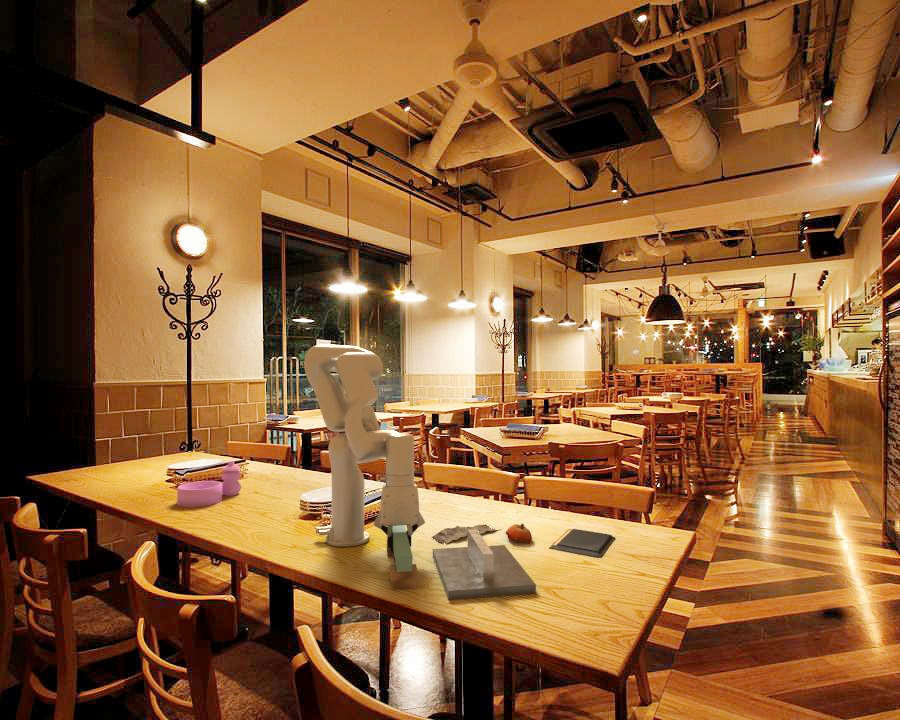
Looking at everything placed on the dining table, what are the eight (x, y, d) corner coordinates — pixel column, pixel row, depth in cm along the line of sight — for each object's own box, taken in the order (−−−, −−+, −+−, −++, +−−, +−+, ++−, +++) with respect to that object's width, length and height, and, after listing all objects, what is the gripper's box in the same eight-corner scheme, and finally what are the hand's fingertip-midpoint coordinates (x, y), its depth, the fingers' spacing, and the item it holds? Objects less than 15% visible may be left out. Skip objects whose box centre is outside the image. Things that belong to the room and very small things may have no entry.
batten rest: (391, 590, 114) (391, 572, 114) (386, 549, 139) (386, 535, 140) (417, 588, 115) (417, 570, 115) (408, 548, 140) (408, 534, 140)
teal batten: (397, 572, 114) (397, 556, 114) (391, 535, 140) (391, 522, 140) (412, 571, 115) (412, 555, 115) (403, 534, 140) (403, 522, 140)
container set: (194, 509, 180) (194, 472, 180) (168, 504, 187) (169, 468, 188) (251, 494, 202) (251, 462, 202) (226, 490, 209) (226, 458, 209)
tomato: (525, 542, 142) (512, 519, 146) (508, 555, 144) (496, 532, 148) (539, 539, 148) (527, 517, 152) (523, 551, 150) (511, 530, 154)
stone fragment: (428, 543, 148) (453, 551, 141) (428, 533, 148) (453, 541, 141) (482, 523, 167) (506, 529, 160) (482, 514, 167) (506, 520, 160)
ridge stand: (448, 600, 109) (448, 563, 109) (432, 556, 134) (432, 526, 135) (536, 593, 112) (536, 557, 112) (504, 552, 138) (504, 523, 138)
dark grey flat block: (600, 553, 133) (546, 543, 141) (600, 561, 133) (546, 550, 141) (618, 533, 150) (568, 525, 158) (618, 539, 150) (568, 531, 158)
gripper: (368, 484, 127) (367, 556, 127) (432, 482, 130) (432, 553, 130) (368, 478, 135) (367, 546, 134) (428, 476, 138) (428, 543, 137)
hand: (399, 549), depth 132 cm, fingers closed on teal batten, 3 cm apart
